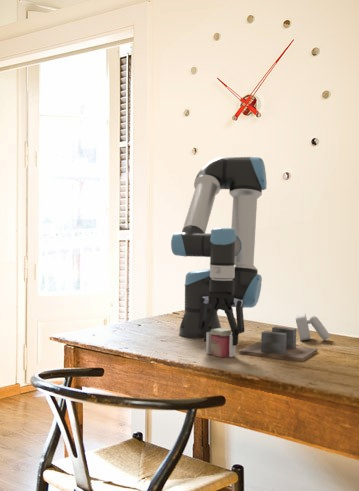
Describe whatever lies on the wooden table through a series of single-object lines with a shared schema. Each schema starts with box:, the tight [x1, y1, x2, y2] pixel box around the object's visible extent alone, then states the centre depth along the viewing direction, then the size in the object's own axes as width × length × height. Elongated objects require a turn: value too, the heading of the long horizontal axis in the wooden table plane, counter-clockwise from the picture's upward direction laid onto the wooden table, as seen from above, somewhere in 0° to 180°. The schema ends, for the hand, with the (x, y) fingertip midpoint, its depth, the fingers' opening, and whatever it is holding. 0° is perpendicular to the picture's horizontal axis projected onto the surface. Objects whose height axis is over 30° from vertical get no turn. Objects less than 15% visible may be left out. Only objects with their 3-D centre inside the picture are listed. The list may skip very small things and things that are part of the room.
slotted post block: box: [238, 326, 318, 363], centre depth 199 cm, size 20×16×7 cm
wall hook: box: [295, 313, 332, 342], centre depth 221 cm, size 8×10×10 cm
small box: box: [209, 327, 232, 358], centre depth 194 cm, size 5×4×8 cm
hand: (220, 354), depth 194 cm, fingers open, 7 cm apart
